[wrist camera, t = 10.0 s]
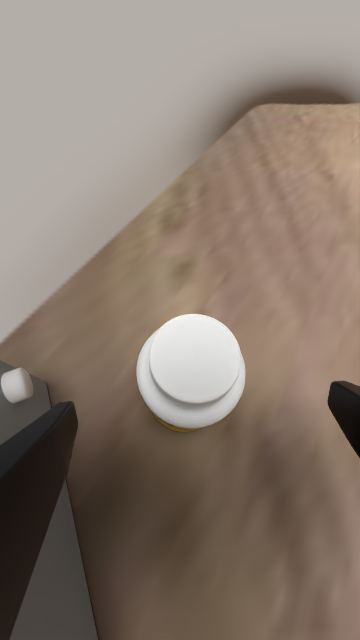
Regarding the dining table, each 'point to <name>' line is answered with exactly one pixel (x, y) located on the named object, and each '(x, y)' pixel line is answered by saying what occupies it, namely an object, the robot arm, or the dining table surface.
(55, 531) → the door
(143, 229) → the dining table surface
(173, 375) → the supplement bottle
